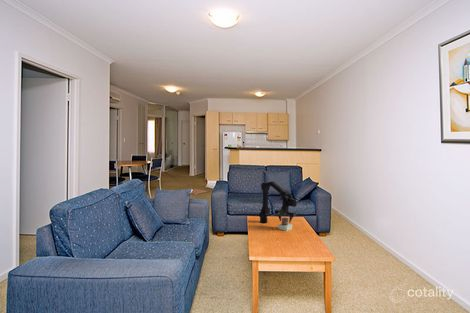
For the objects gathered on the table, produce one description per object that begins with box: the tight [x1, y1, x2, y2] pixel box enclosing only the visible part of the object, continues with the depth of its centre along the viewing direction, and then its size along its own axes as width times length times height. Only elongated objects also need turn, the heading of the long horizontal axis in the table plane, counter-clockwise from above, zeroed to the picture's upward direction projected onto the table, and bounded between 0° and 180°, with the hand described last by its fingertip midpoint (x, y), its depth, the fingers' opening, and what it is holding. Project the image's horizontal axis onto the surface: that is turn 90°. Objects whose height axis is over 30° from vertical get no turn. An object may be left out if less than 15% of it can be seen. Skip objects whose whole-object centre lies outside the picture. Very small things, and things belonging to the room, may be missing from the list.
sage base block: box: [277, 223, 293, 232], centre depth 236 cm, size 9×9×4 cm
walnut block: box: [281, 216, 290, 226], centre depth 236 cm, size 4×4×6 cm
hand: (285, 222), depth 236 cm, fingers open, 9 cm apart
